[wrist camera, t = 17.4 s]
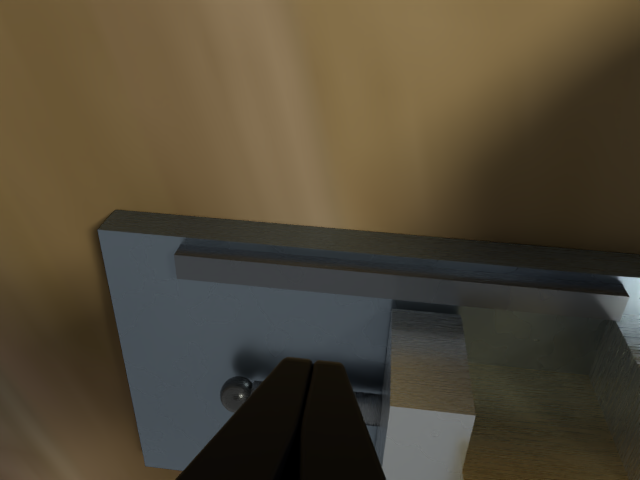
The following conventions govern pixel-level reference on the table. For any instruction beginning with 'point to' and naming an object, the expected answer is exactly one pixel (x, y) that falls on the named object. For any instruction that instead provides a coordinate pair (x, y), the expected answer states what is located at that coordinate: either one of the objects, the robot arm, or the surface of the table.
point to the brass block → (538, 427)
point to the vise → (350, 314)
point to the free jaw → (412, 398)
